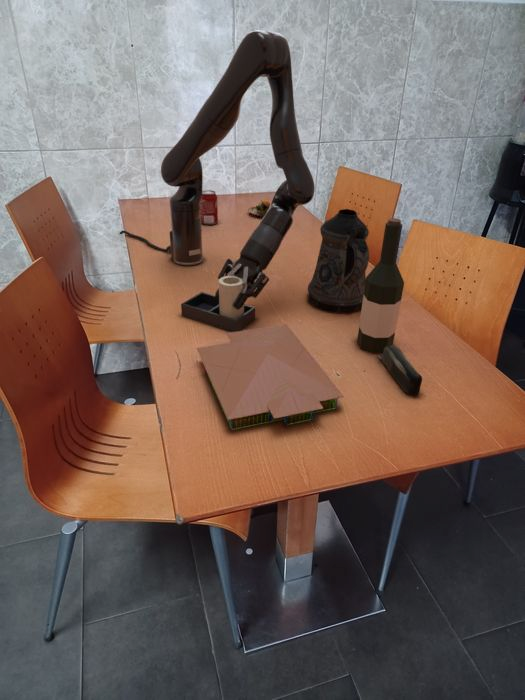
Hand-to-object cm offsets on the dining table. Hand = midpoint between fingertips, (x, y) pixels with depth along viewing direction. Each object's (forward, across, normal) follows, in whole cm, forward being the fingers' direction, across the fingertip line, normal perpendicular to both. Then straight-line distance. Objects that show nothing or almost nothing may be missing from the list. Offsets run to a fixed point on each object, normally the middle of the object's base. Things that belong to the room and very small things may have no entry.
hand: (226, 303), depth 123 cm
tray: (+4, -4, +4) cm, 7 cm away
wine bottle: (-9, +31, +18) cm, 37 cm away
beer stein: (-18, +12, +26) cm, 34 cm away
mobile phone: (-4, +42, +13) cm, 44 cm away
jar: (+2, 0, +5) cm, 5 cm away
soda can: (-30, -68, +38) cm, 84 cm away
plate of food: (-47, -63, +56) cm, 96 cm away
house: (+12, +24, -3) cm, 27 cm away
